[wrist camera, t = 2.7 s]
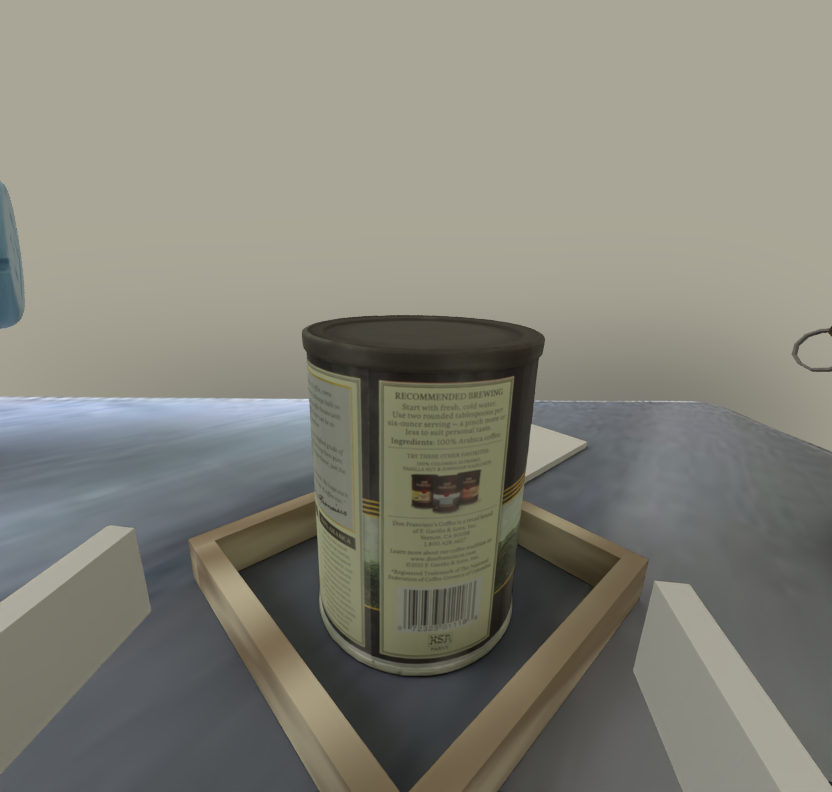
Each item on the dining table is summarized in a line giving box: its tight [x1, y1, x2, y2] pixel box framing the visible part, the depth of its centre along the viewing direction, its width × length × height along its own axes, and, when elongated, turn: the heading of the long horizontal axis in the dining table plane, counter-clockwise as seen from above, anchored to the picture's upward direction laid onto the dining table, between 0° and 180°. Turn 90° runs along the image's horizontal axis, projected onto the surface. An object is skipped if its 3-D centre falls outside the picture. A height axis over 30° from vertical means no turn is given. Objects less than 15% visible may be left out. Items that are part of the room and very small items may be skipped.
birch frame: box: [188, 492, 648, 792], centre depth 22 cm, size 17×17×2 cm
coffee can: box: [302, 315, 545, 676], centre depth 20 cm, size 10×10×14 cm
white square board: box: [524, 424, 587, 483], centre depth 41 cm, size 15×15×1 cm
